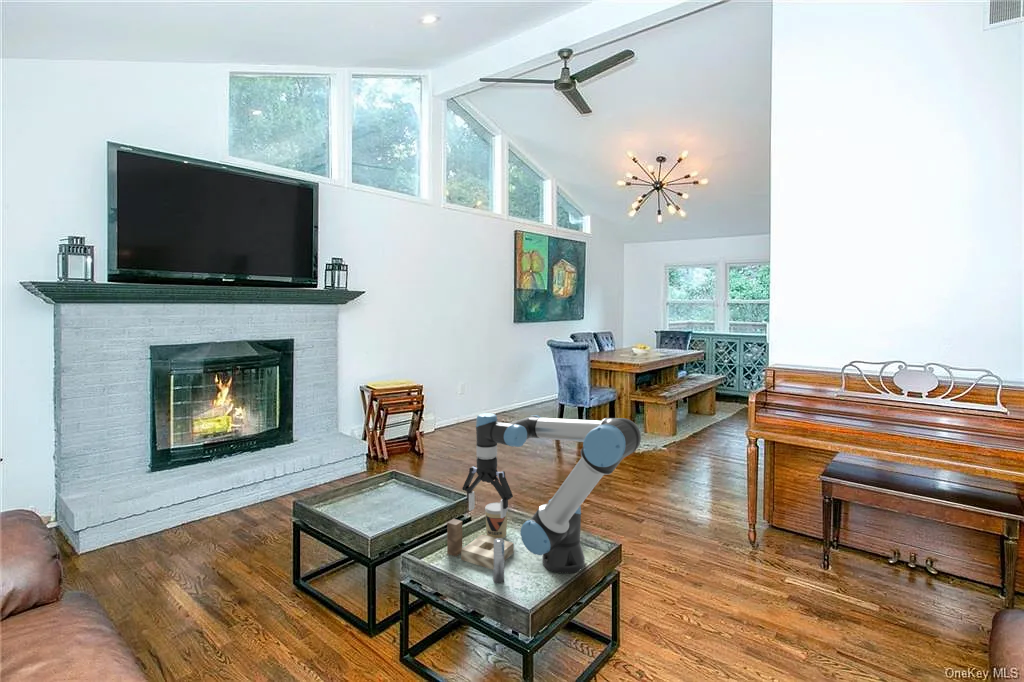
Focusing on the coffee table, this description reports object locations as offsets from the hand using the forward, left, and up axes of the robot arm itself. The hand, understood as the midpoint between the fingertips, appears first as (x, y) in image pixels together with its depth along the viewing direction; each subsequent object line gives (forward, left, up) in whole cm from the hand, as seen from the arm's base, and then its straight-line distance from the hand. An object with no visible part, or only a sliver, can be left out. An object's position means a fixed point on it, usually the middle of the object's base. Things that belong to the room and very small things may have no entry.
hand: (487, 513), depth 192 cm
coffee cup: (+6, -16, -17) cm, 24 cm away
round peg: (-12, +12, -17) cm, 24 cm away
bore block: (0, 0, -17) cm, 17 cm away
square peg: (+12, +4, -17) cm, 21 cm away
